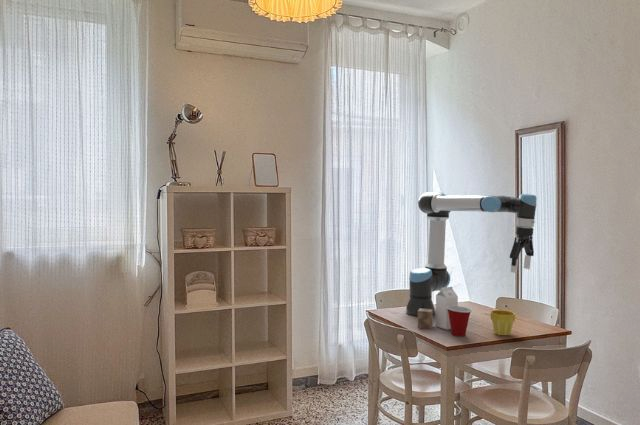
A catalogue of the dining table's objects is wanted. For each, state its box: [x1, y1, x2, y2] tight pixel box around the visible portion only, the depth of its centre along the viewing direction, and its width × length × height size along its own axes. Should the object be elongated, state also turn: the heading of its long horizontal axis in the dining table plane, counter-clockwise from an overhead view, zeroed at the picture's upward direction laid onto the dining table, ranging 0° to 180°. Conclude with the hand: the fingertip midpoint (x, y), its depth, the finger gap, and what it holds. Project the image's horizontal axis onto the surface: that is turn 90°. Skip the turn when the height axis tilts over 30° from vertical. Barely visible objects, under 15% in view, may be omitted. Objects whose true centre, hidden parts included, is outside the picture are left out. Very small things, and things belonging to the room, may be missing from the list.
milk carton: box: [435, 286, 459, 330], centre depth 220 cm, size 7×7×19 cm
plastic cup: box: [447, 305, 473, 337], centre depth 208 cm, size 11×11×12 cm
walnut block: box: [417, 308, 434, 330], centre depth 221 cm, size 6×6×8 cm
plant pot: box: [489, 309, 516, 336], centre depth 209 cm, size 10×10×10 cm
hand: (520, 270), depth 225 cm, fingers open, 13 cm apart
